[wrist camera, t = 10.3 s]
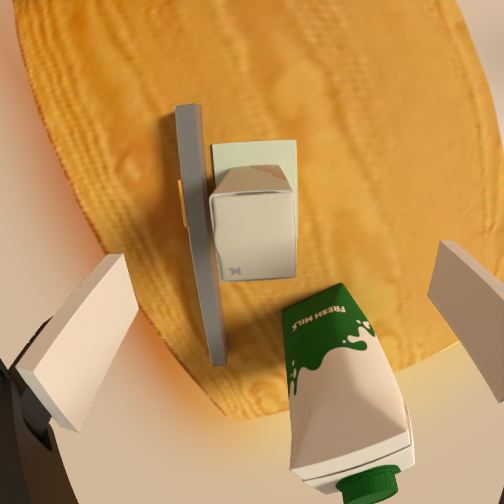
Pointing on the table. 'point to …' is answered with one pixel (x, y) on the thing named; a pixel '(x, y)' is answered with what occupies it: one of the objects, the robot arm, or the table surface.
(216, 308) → the rail
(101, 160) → the table surface
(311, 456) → the fresh milk carton
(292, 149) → the pad
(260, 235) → the box
